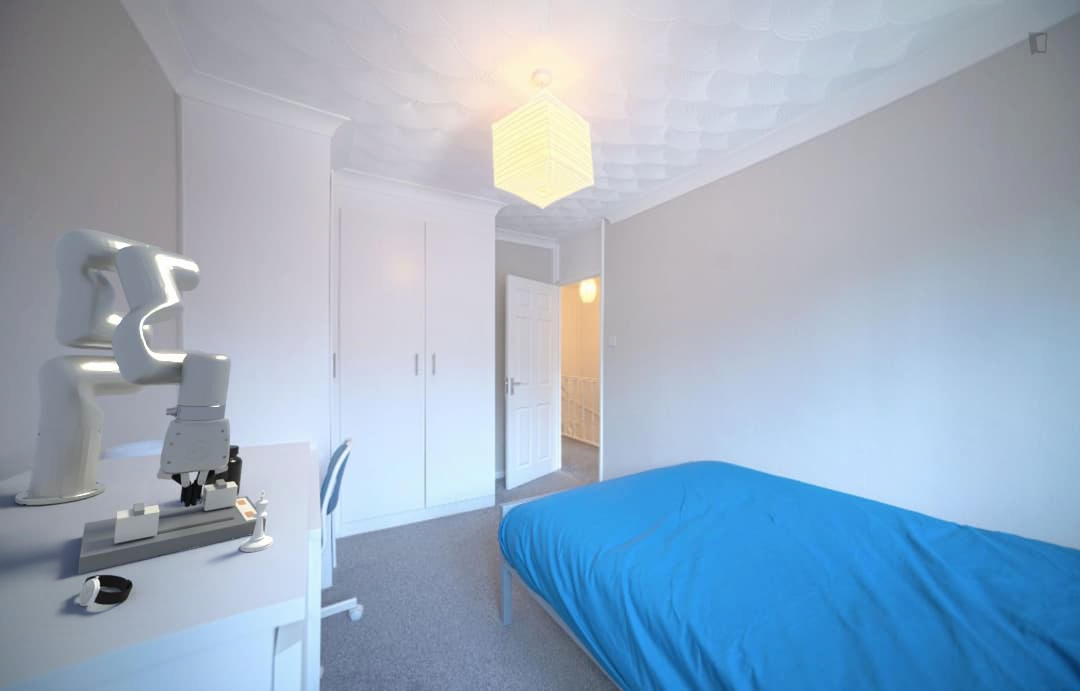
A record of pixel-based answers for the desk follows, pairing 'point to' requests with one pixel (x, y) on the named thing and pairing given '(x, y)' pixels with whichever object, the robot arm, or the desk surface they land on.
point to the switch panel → (166, 534)
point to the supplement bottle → (230, 469)
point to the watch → (95, 595)
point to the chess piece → (258, 530)
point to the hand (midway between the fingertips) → (189, 504)
